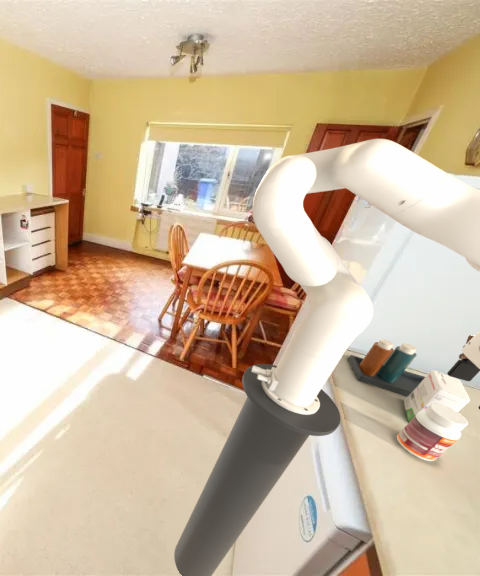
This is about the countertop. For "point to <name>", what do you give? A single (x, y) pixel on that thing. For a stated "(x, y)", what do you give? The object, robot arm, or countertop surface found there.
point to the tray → (400, 386)
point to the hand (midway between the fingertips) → (473, 394)
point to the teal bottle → (397, 362)
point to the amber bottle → (376, 357)
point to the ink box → (436, 394)
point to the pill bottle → (432, 431)
